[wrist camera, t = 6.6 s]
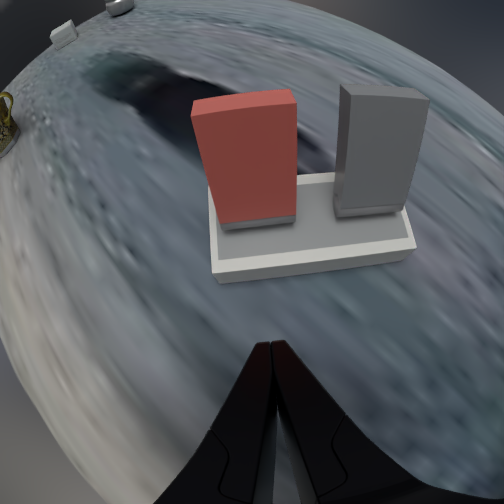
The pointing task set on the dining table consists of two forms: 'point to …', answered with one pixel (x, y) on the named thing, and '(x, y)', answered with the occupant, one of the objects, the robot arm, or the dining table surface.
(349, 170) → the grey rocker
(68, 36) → the small box
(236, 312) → the dining table surface
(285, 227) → the shallow grey tray
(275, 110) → the upright red slab
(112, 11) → the plastic bottle
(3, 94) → the ceramic cup
